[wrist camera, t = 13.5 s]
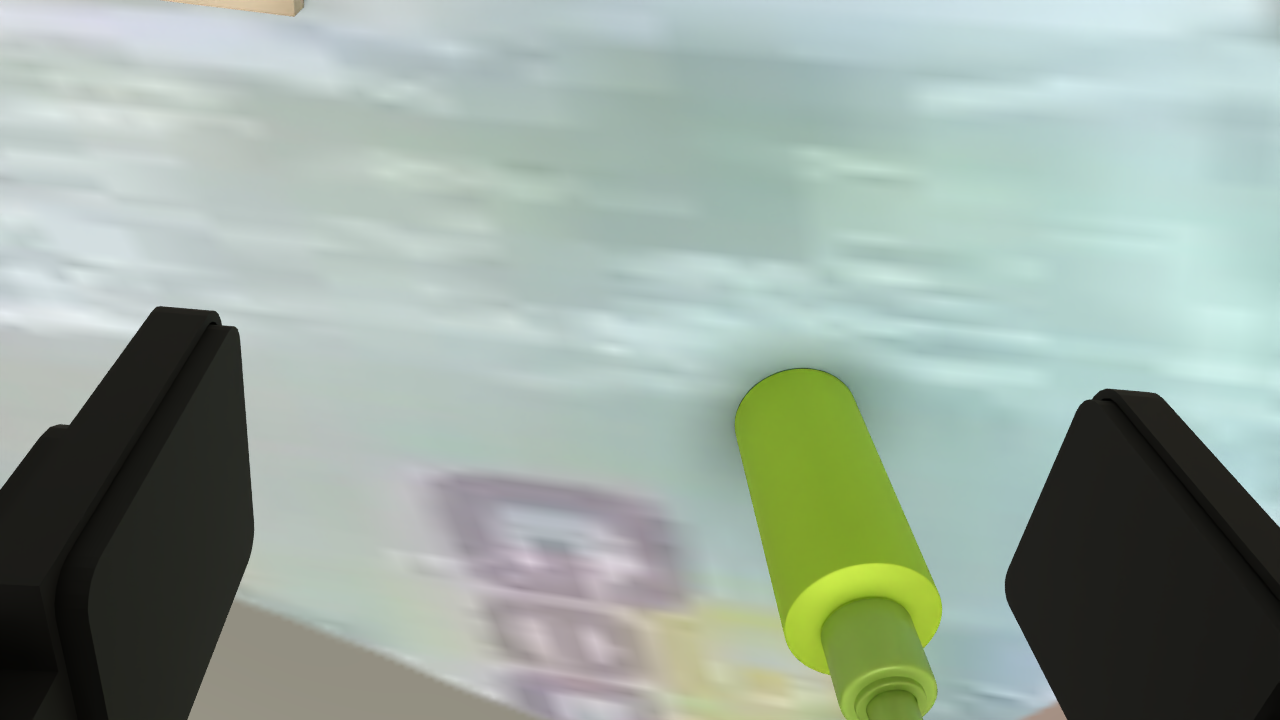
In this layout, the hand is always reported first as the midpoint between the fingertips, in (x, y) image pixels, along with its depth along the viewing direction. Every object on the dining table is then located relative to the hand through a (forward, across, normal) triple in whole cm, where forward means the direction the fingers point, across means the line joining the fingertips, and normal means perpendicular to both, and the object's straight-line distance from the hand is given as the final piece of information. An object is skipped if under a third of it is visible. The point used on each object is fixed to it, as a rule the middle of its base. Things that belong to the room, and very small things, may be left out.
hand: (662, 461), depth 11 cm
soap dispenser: (+31, -12, +20) cm, 38 cm away
